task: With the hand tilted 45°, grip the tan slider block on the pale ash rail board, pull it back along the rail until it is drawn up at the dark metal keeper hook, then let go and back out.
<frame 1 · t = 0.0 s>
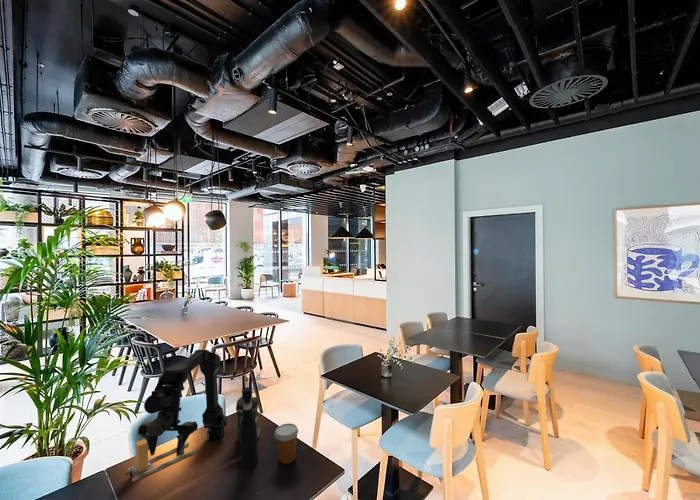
hand: (165, 455, 108), 15 cm above the table, tool pointing down, fingers open, 9 cm apart
wine bottle: (249, 464, 125), on the table
keeper hook: (181, 454, 131), resting on rail board
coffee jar: (248, 439, 142), on the table
tan slider block: (142, 456, 121), point 7 cm above the table, slide at 0.0 cm
disposable coffee cup: (287, 458, 127), on the table
rail board: (162, 465, 126), on the table
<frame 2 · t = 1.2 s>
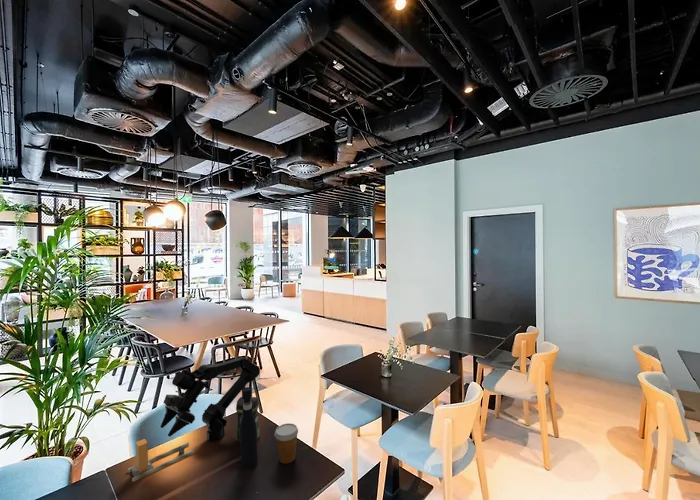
hand: (164, 431, 126), 13 cm above the table, tool tilted 45°, fingers open, 9 cm apart
nothing on the table moved.
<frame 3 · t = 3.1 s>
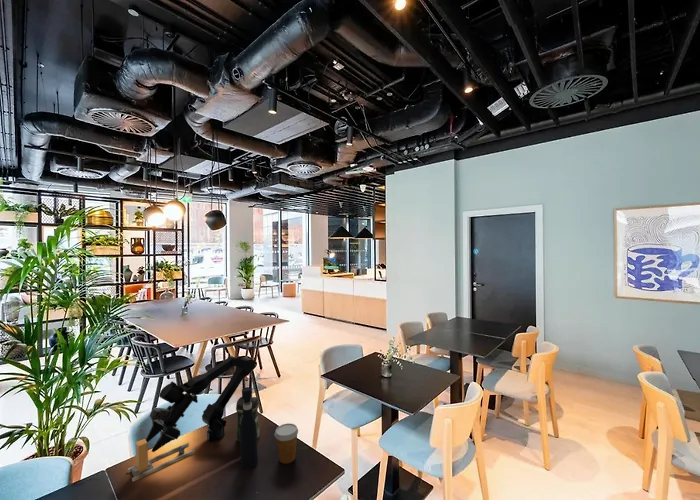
hand: (149, 446, 123), 10 cm above the table, tool tilted 45°, fingers open, 9 cm apart
nothing on the table moved.
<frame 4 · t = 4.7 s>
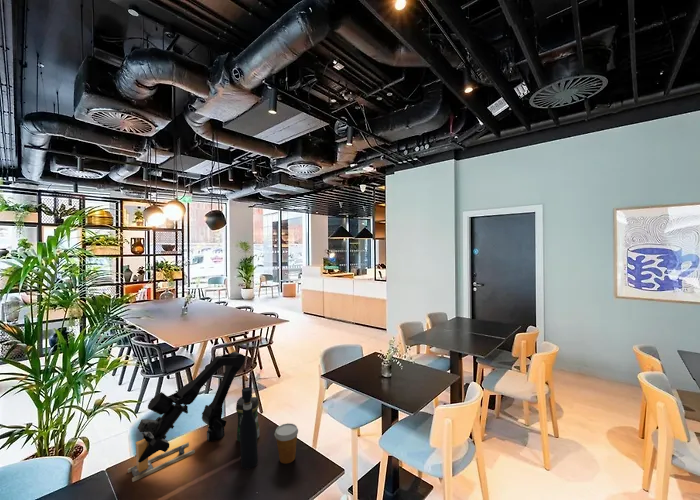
hand: (137, 459, 120), 7 cm above the table, tool tilted 45°, fingers closed on tan slider block, 4 cm apart
tan slider block: (142, 456, 121), point 7 cm above the table, slide at 0.0 cm, touching gripper
everything else where it was.
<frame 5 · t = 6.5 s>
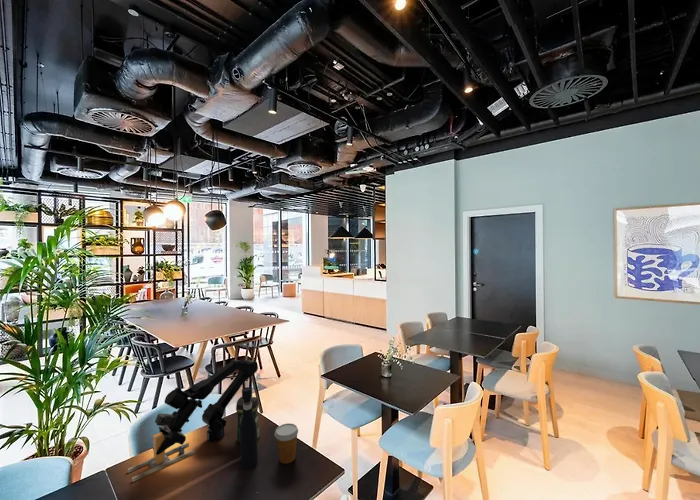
hand: (155, 452, 124), 7 cm above the table, tool tilted 45°, fingers closed on tan slider block, 4 cm apart
tan slider block: (159, 449, 125), point 7 cm above the table, slide at 5.9 cm, touching gripper
everything else where it was.
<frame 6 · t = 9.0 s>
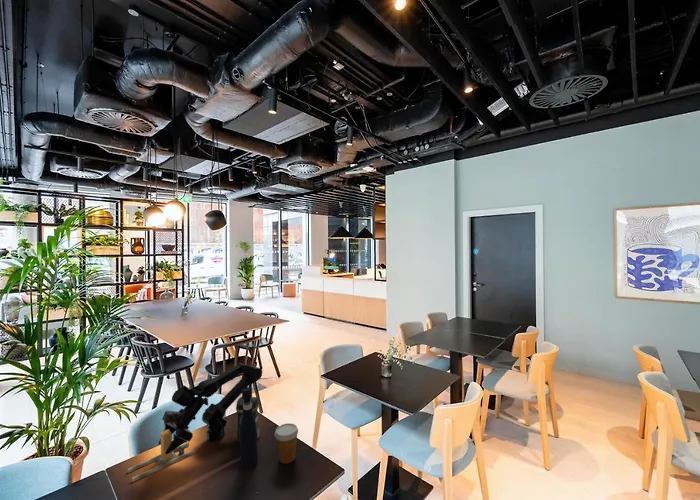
hand: (162, 448, 126), 7 cm above the table, tool tilted 45°, fingers open, 9 cm apart
tan slider block: (166, 446, 127), point 7 cm above the table, slide at 8.5 cm
everything else where it was.
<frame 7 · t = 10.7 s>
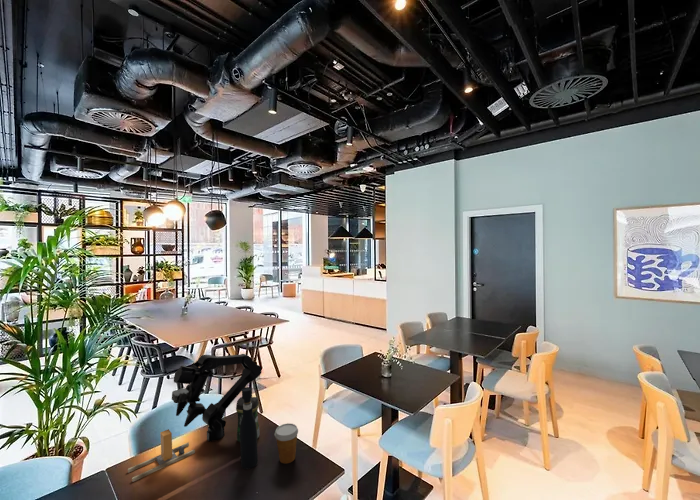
hand: (181, 421, 134), 13 cm above the table, tool tilted 25°, fingers open, 9 cm apart
nothing on the table moved.
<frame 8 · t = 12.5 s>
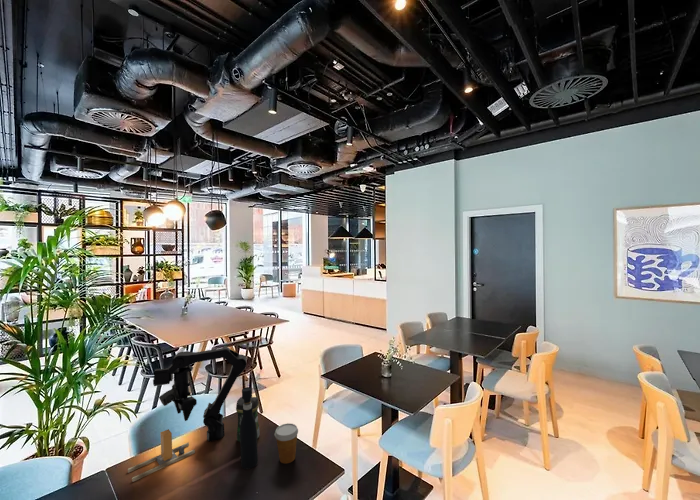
hand: (182, 416, 138), 13 cm above the table, tool pointing down, fingers open, 9 cm apart
nothing on the table moved.
at the end: tan slider block slide at 8.5 cm; the gripper is holding nothing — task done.
